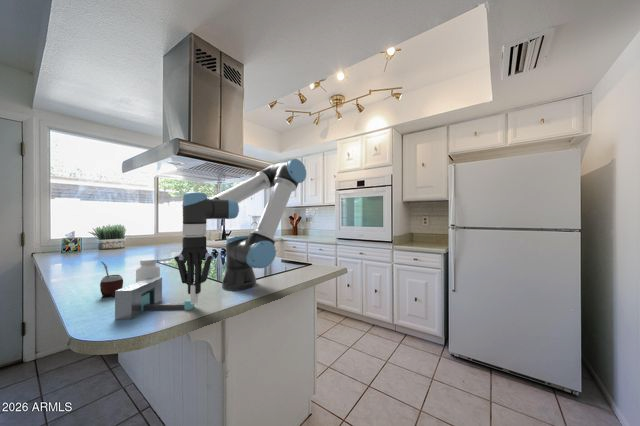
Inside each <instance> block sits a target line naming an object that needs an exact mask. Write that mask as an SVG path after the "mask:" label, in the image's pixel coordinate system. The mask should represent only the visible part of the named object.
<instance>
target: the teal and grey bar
mask: <svg viewBox="0 0 640 426" xmlns="http://www.w3.org/2000/svg"><path fill="white" fill-rule="evenodd" d="M193 308H195V304H190V298H187V299H186V300H184V302H177V303H175V302H174V303H172V302H171V303H169V302H168V303H158V304H150V293H142V294H141V313H142V312H143V311H165V310H166V311H172V310H184V311H191V310H192V309H193Z"/></svg>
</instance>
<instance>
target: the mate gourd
mask: <svg viewBox="0 0 640 426" xmlns="http://www.w3.org/2000/svg"><path fill="white" fill-rule="evenodd" d="M101 264H102V265H103V266H104V269H105V273H106V276H103V277H102V279H101V280H100V283H99V288H100V289H99V290H100V293H101V299H105V298H109V297H111V298H112V297H113V298H115V291H116V290H119V289H121V288H124V286H123V285H124V278H123V276H122V275H120V274H110V275H109V270H108V266H107V264H106V263H105V262H103V261H101Z"/></svg>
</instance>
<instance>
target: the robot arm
mask: <svg viewBox="0 0 640 426" xmlns="http://www.w3.org/2000/svg"><path fill="white" fill-rule="evenodd" d="M306 177H307V169H306V166H305V164H304V163H303V162H302V160H301V159H299V158H289V159H287V160H282V161H279V162H274V163H272V164H270V165H269V166H267V167H265V168H263V169H262V170H260V171H258V172H256V174H255V176H253V177H250V178H248V179H246V180H245V181H242V182H240V183H238V184H237V185H234V186H233V187H230V188H228V189H226V190H224V191H222V192H220V193H218V194H216V195H213V197H210V198H208V196H207V193H206V192H200V191H199V192H198V191H191V192H190V191H187V192H184V194H183V196H182V205H181V206H182V236H183V237H182V246H181V247H182V251H181V253H179V254H178V255H175V256H174V258H173V259H174V261H175V262H176V263H177V267H178V271H179V275H180V280H181V283H182V284H184V285H187V294H188V295H189V297H190V304H194V305H195V304H197V303H198V302H199V294H200V293H201V291H202V286H201V285H202V284H203V283H205V282H206V281H207V279H208V275H209V272H210V267H211V264H212V261H213V259H214V258H215V255H214V254H210V253H209V252H208V249H207V236H206V235H207V220H231V219H232V220H234V219H236V218H237V217H238V216H239V213H240V206H239V203H241V202H243V201H245V200H247V199H248V198H251V197H252V196H254V195H256V194H257V193H259V192H261V191H262V190H268V189H271V188H272V187H273V189H272V191H271V194H270V196H269V198H268V200H267V203H266V205H265V207H264V209H263V212H262V214H261V216H260V219H259V221H258V223H257V225H256V228H255V230H253V231H250V232H249V234H248V235H238V236H229V237H228V238H227V239H226V244H225V248H226V249H225V252H226V255H225V260H226V262H225V264H226V265H225V272H224V276H223V278H222V281H221V288H222V289H224V290H228V291H241V290H247V289H251V288H254V287H256V285H257V278H256V274H255V272H254V269H265V268H267V267H268V266H270V265H271V264H273V262H274V261H275V257H276V256H277V255H276V254H277V251H276V246H275V244H276V239H275V238H274V237H275V236H276V232H277V229H278V228H279V224H280V222H281V220H282V218H283V217H282V216H283V215H284V213H285V209H287V208H286V207H287V204H288V202H289V200H290V197H291V195H292V193H293V192H295V191H296V190H297V188H298V186H299V184H302V183H304V181H305V180H306V179H307V178H306ZM204 258H205V261H204V265H203V268H202V264H203V260H204ZM185 261H186V263H185ZM186 266H187V267H186Z"/></svg>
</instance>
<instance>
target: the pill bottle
mask: <svg viewBox="0 0 640 426" xmlns="http://www.w3.org/2000/svg"><path fill="white" fill-rule="evenodd" d="M139 264H140V266H138V267H137V268H136V270H135V283H136V282H139V281H141V280H144V279H147V278H161V268H160V266H159V265H158V264H157V259H156V258H152V257H150V258H149V257H148V258H142V259H140V261H139Z"/></svg>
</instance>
